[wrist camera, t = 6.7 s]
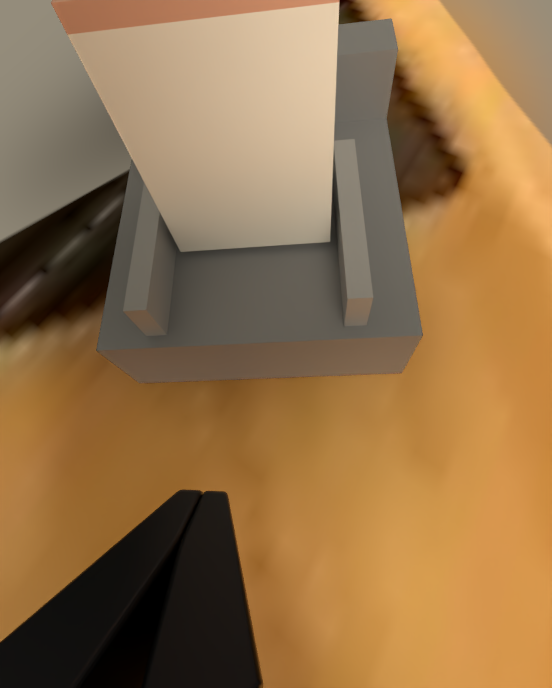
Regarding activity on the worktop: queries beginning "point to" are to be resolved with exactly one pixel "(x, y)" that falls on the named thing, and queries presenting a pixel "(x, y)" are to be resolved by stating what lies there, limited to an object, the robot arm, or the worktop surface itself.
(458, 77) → the worktop surface
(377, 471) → the worktop surface
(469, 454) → the worktop surface
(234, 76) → the white block
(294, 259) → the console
